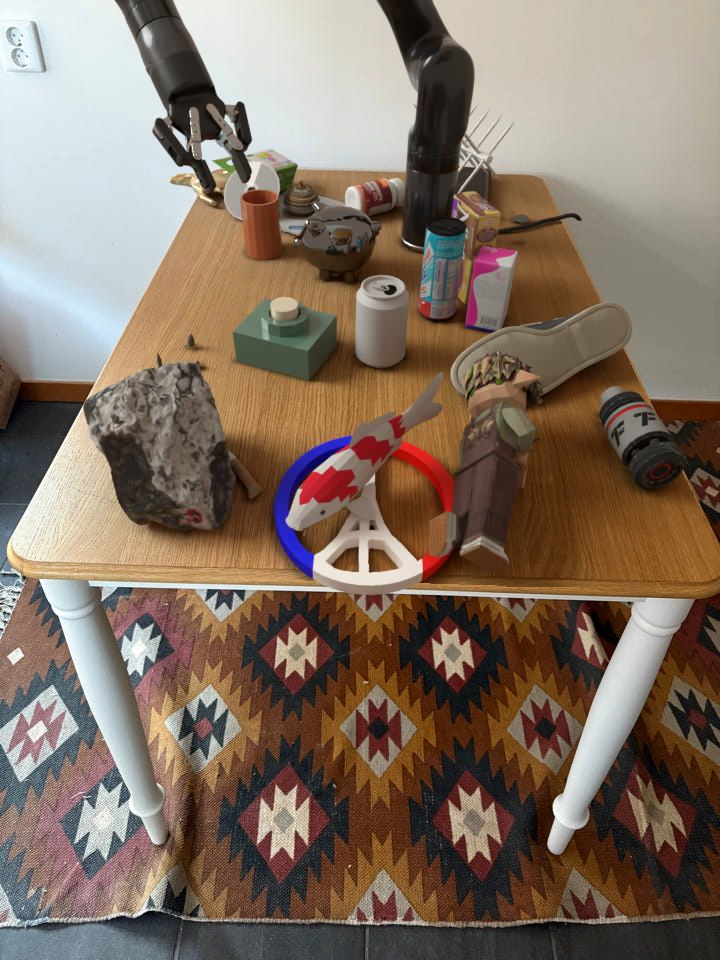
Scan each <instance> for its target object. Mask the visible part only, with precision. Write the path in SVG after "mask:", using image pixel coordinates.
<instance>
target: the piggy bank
mask: <svg viewBox="0 0 720 960" xmlns="http://www.w3.org/2000/svg"><path fill="white" fill-rule="evenodd" d="M311 205H312V207H313V208H314V209H315V211H316V212H315V213H314V214H312V215H311V216H310V217H308V218H307V220H306V223H305V224H304V226H303V228H302V230H301V232H300V233H299V234H298V235H296V234H295V236H294V238H293V242H292V243H293V249H295V251H297V252H298V253H300V255H301V257H303V258H304V259H305V261H307V262H308V263H309V264H310V265H311V266H313V267H315V268H316V269H318V278H319V279H320V280H321V281H329V279H331V276H332V275H333V274H342V275H343V277H344V280H345V281H346V282H347V283H354V282H356V280H357V272H358V271H360V270H361V269H362V268H363V267H365V266H366V265H367V264H368V262H370V260H371V258H372V257H373V253H374V251H375V248H376V243H377V237H378V236H379V235H380V233H381V231H382V223H381V222H380V221H376V220H373V221H372V219H371V218H370V216H367V215H366V214H365V213H364V212H362V211H360V210H358V209H356V208H353V207H348V206H330V207H328V206H327V205H326V204H325V203H322V202H312V203H311Z"/></svg>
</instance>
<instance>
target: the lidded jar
mask: <svg viewBox="0 0 720 960" xmlns="http://www.w3.org/2000/svg"><path fill="white" fill-rule="evenodd" d="M312 202H322V203H325V204H326V205H327V206H328V207H330V206H346V204H345V201H341V200H338V199H333V198H330V197H325V196H322V195H319V194H318V193H317V191H315V190H314V188H313V187H312V186H309V185H306V184H303V180H300V181H298V184H296V185H292V187H291V188H288V189H286V190H284V192H282V193H280V194H279V210H280V225H281V232H283V233H289V234H291V235H295V236H296V235H298V234H299V233H300V232H301V230H302V228H303V226H304V224H305V223H306V220H307V218H308V217H310V216H311V215H312V214H314V213H315V212H316V211H315V209H314V208H313V207H312V205H311V203H312Z"/></svg>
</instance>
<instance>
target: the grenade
mask: <svg viewBox="0 0 720 960" xmlns="http://www.w3.org/2000/svg"><path fill="white" fill-rule="evenodd" d="M598 420H599V422H600V423H601V425H602V426H603V431H604V434H605V436H606V437H607V438H608V440H609V442H610V444H611V446H612V447H613V449H614V451H615V453H616V454H617V456H618V457H619V459H620V461H621V462H622V464H623V465H624V466H625V467H627V471H628V472H627V473H628V475H629V476H630V478H631V479H632V481H633V483H634V485H636V486H637V487H638V488H642V489H658V488H662V487H665V486H667V485H670V484H671V483H673V482H674V481H676V480H677V479H678V478H679V477H680V475H681V474H682V473H683V471H684V470H685V468H686V466H687V462H688V459H687V456H686V454H685V452H684V451H683V449H682V448H681V447H680V446H679V445H678V444H677V443H676V442H674V438H673V436H672V434H671V433H670V431H669V430H668V429H667V427H666V426H665V424H664V423H663V421H662V420H661V418H660V417H659V415H658V413H656V411H655V410H654V408H653V407H652V405H650V404H649V403H647V402H646V401H645V399H644V398H643V396H642V395H641V394H640V393H638V392H637V391H633V390H626V391H624V389H623V387H621V386H618V385H616V386H615V385H614V386H610V387H608V388H607V389H606V390H604V391H603V393H602V394H601V396H600V408H599V412H598Z"/></svg>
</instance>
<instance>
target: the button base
mask: <svg viewBox="0 0 720 960" xmlns="http://www.w3.org/2000/svg"><path fill="white" fill-rule="evenodd" d="M273 300H274V299H269V298H264V299H263V300H262V301H261V302H260V303H259V304H258V305H257V306H256V307H255V308H254V309H253V310H252V311H251V312H250V313H249V314H248V315H247V316H245V318H244V319H243V320H242V321H241V322H239V324H238V325H237V326H236V328H234V329H233V331H232V337H233V338H232V339H233V345H234V353H235V361H236V362H237V363H242V364H245V365H248V366H252V367H256V368H260V369H264V370H267V371H271V372H275V373H278V374H283V375H286V376H289V377H294V378H297V379H301V380H305V381H311V379H312V378H313V377H314V376H315V374H316V373H317V372H318V370H319V369H320V368H321V367H322V365H323V364H324V362H325V361H326V359H328V357H329V356H330V355H331V354H332V352H333V351H334V349H335V348H336V346H337V345H338V324H337V323H338V319H337V318H338V315H336V314H331V313H327V312H323V311H320V310H315V309H312V308H311V309H310V308H309V307H307V306H306V305H305V304H304V303H302V302H300V301H297V302H298V309H299V316H298V317H297V318H296V319H294V320H291V321H278V320H274V319H273V318H272V317H271V309H270V303H271V302H272V301H273Z"/></svg>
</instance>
